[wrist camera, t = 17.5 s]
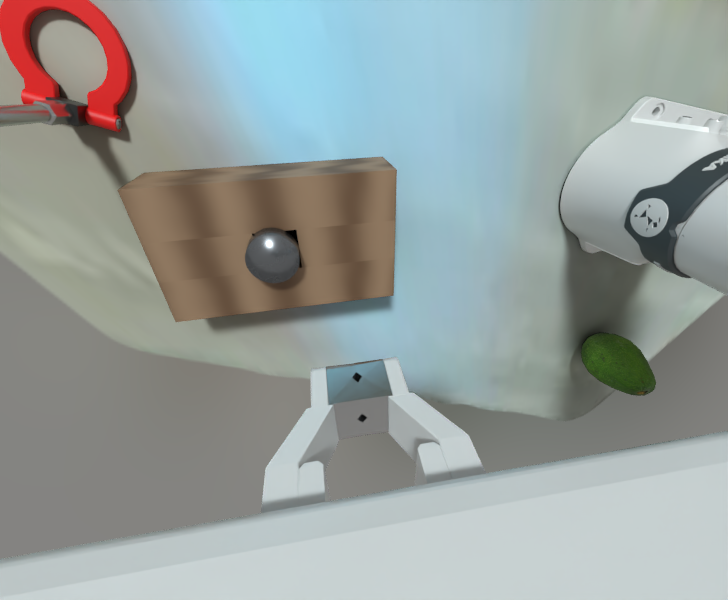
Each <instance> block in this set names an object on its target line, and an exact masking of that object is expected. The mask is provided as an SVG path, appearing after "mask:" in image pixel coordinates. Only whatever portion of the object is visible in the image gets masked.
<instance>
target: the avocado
mask: <svg viewBox="0 0 728 600" xmlns="http://www.w3.org/2000/svg"><path fill="white" fill-rule="evenodd" d="M581 356H582V361H583V363H584V365H585V367H586V368H587V370H588V371H589V372H590V373H591V374H592V375H593V376H594V377H595V378H597V379H598V380H599V381H601V382H603V383H604V384H606V385H608V386H610V387H612V388H614V389H617V390H619V391H622V392H625V393H628V394H631V395H646V394H648V393H650V392H652V391H653V390H654V388H655V385H656V381H655V377H654V375H653V372H652V370H651V368H650V366H649V364H648V362H647V360H646V358H645V357H644V355H643V354H642V352H641V350H640V349H639V348H638V347H637V346H635V345H634V344H633V343H632V342H631V341H630V340H628V339H626V338H623V337H621V336H618V335H616V334H609V333H598V334H594V335H592V336H590V337H588V339H587V340H586V341H585V342H584V344H583V346H582V351H581Z"/></svg>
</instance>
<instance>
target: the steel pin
mask: <svg viewBox="0 0 728 600" xmlns="http://www.w3.org/2000/svg"><path fill="white" fill-rule="evenodd" d="M299 262H300V260H299V246H298V243H297V242H296V240H295V238H294V237H293V236H292V235H291V234H290V230H287V231H285V230H282V229H279V228H264V229H261V230H259V231H257V232H256V233H255V234H254V235H253V236H252V237H251V238H250V240H249V242H248V246H247V249H246V253H245V263H246V266H247V268H248V270H249V271H250V273H251V274H252V275H253V276H255V277H256V278H257V279H259V280H261V281H264V282H268V283H280V282H284V281H286V280H288V279H290V278H291V277H292V276H293V275H294V274H295V273H296V272H297V270H298V267H299Z"/></svg>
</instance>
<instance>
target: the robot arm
mask: <svg viewBox="0 0 728 600" xmlns="http://www.w3.org/2000/svg"><path fill="white" fill-rule="evenodd" d="M653 110H654V111H653ZM652 112H653V113H652ZM560 211H561V216H562V220H563V222H564V224H565V226H566V227H567V228H568V229H569V230H570V231H571V232H572V233H574V234H575V235H576V236H577V237H578V238H579V242H580V245H581V248H582V249H583V250H584V251H586V252H588V253H596V252H599V251H605V252H607V253H609V254H611V255H614V256H616V257H618V258H620V259H623V260H625V261H627V262H629V263H632V264H635V265H641V264H645V263H650V262H651V263H653V264H655V265H656V266H658V267H659V268H661V269H663V270H665V271H667V272H670V273H673V274H676V275H678V276H681V277H685V278H694V279H696V280H698V281H700V282H702V283H704V284H706V285H708V286H710V287H712V288H714V289H716V290H717V291H719V292H721V293H723V294H725V295H728V115H726V114H722V113H718V112H714V111H710V110H705V109H701V108H697V107H693V106H689V105H684V104H680V103H676V102H672V101H668V100H663V99H659V98H655V97H650V96H646V97H643V98H641V99H640V100H639V101H638V102H637V103H636V104H635V105H634V106H633V107H632V108H631V109H630V110H629V111H628V113H627V114H626V115H625V116H624V117H623V119H622V120H621V121H620V122H619V123H617V124H616V125H615V126H614V127H612V128H611V129H609V130H608V131H606V132H605V133H604V134H602V135H601V136H600V137H598V138H597V139H596V140H595V141H594V142H593V143H592V144H591V145H590V146H589V147H588V148H587V149H586V150H585V151H584V152H583V153H582V155H581V156H580V157H579V159H578V160H577V161H576V163H575V164H574V166H573V168H572V169H571V171H570V173H569V175H568V177H567V179H566V182H565V184H564V187H563V191H562V195H561V202H560ZM383 432H389V434H390V435H391V436H392V437H393V438H394V440H395V441H396V442H397V443H398V444H399V445H400V446H401V447H402V448H403V449H404V450H405V452H406V453H407V454H408V455H409V456H410V457H411V458H412V459H413V460H414V462H415V463H416V475H415V486H412V487H407V488H401V489H396V490H390V491H384V492H379V493H374V494H368V495H362V496H356V497H350V498H345V499H339V500H333V501H331V499H330V494H329V490H328V485H327V480H326V475H325V471H326V468H327V466H328V464H329V462H330V460H331V458H332V455H333V453H334V451H335V449H336V447H337V445H338V442H339V440H340V439H345V438H351V437H356V436H362V435H368V434H376V433H383ZM0 600H728V431H724V432H718V433H713V434H707V435H701V436H696V437H690V438H685V439H679V440H673V441H668V442H662V443H656V444H650V445H645V446H639V447H634V448H628V449H622V450H616V451H611V452H605V453H600V454H594V455H588V456H582V457H577V458H572V459H566V460H560V461H554V462H548V463H543V464H538V465H532V466H526V467H520V468H514V469H509V470H503V471H497V472H492V473H487V474H486V472H485V470H484V468H483V466H482V464H481V461H480V459H479V457H478V455H477V452H476V450H475V448H474V446H473V444H472V441H471V440H470V437H469V435H468V434H466V433H465V432H464V431H463V430H461V429H460V428H459V427H457V426H456V425H455V424H453V423H452V422H451V421H450V420H448V419H447V418H446V417H444V416H443V415H442V414H441V413H439V412H438V411H437V410H436V409H434V408H433V407H432V406H430V405H429V404H428V403H426V402H425V401H424V400H423V399H421V398H420V397H419V396H417V395H416V394H415V393H409V390H408V387H407V384H406V381H405V378H404V375H403V372H402V369H401V366H400V363H399V360H398V358H397V357H393V358H386V359H379V360H373V361H366V362H359V363H354V364H345V365H337V366H328V367H322V368H313V369H311V408H307V409H306V411H305V412H304V413H303V415H302V416H301V418H300V419H299V421H298V422H297V423H296V425H295V427H294V428H293V429H292V431H291V432H290V434H289V435H288V436H287V438H286V440H285V441H284V442H283V444H282V445H281V447H280V448H279V450H278V451H277V453H276V454H275V455H274V457H273V458H272V460H271V461H270V463H269V464H268V466H267V467H266V471H265V481H264V490H263V499H262V508H261V513H260V514H255V515H249V516H243V517H237V518H231V519H226V520H221V521H215V522H209V523H203V524H197V525H192V526H186V527H180V528H175V529H169V530H164V531H158V532H152V533H146V534H141V535H135V536H130V537H123V538H118V539H112V540H106V541H101V542H95V543H89V544H84V545H78V546H72V547H66V548H61V549H55V550H50V551H44V552H38V553H32V554H27V555H22V556H15V557H10V558H5V559H0Z"/></svg>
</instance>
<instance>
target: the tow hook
mask: <svg viewBox="0 0 728 600" xmlns="http://www.w3.org/2000/svg"><path fill="white" fill-rule="evenodd" d="M47 10H63V11H66V12H69V13H71V14H72V15H74V16H76V17H78V18H79V19H80V20H82V21H83V22H84V23H85V24H86V25H87V26H89V27H90V29H91V30H92V31H93V32H94V34H95V35H96V36H97V37H98V39H99V41H100V43H101V44H102V46H103V48H104V51H105V54H106V57H107V65H108V71H107V76H106V79H105V81H104V82H103V84H102V85H101V86H100V87H99V88H97V89H96V90H94V91H91V92H89V93H88V95H87V96H88V105H86V104H83V103H79V102H76V101H72V100H69V99H66V98H62V97H60V95H59V85H58V84H57V82H56V81H55V80H54V79H52V78H51V77H50V76H49V75H48V74H47V73H46V72H45V70H44V69H43V68H42V67H41V65H40V64H39V62H38V61H37V59H36V58H35V55H34V53H33V50H32V48H31V44H30V38H29V34H30V26H31V24H32V22H33V20H34V18H35V17H36V16H37V15H39V14H40V13H41V12H44V11H47ZM0 32H1V37H2V42H3V44H4V47H5V49H6V51H7V53H8V55H9V58H10V60H11V61H12V63H13V64H14V66H15V67H16V69H17V70H18V71H19V73H20V74H21V76H22V77H23V78H24V83H25V89H23V91H22V94H21V98H22V102H23V105H0V127H3V126H13V125H23V124H32V123H44V124H48V125H58V124H64V123H65V124H66V123H67V124H71V125H74V126H83V125H90V124H91V125H94V126H98V127H102V128H105V129H109V130H112V131H116V132H120V130H121V127H122V121H121V117H120V116H119V115H118V111H117V105H118V104H119V103H121V102H122V101H123V99H124V98H125V96H126V94H127V93H128V91H129V87H130V83H131V78H132V77H131V62H130V59H129V55H128V52H127V49H126V46H125V44H124V42H123V40H122V38H121V36H120V34H119V33H118V31H117V29H116V28H115V26H114V25H113V24H112V23H111V21H110V20H109V19H108V18H107V16H106V15H105V14H104V13H103V12H102V11H101V10H100V9H98V8H97V7H96V6H95V5H94V4H93V3H92V2H90V1H89V0H4V1H3V4H2V6H1V8H0Z"/></svg>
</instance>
